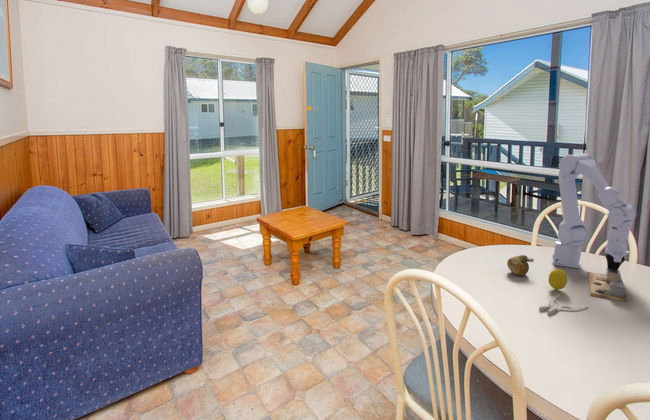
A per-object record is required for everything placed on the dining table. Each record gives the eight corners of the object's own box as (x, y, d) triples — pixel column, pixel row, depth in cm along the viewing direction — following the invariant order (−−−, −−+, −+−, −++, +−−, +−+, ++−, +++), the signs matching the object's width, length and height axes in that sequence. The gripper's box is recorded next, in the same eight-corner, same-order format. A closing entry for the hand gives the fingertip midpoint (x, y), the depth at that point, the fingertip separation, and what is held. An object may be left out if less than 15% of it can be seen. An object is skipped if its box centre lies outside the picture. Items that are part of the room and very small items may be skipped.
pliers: (589, 304, 125) (559, 316, 119) (588, 308, 126) (559, 320, 119) (559, 292, 134) (529, 302, 127) (558, 296, 134) (529, 306, 128)
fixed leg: (598, 292, 133) (600, 283, 132) (597, 288, 136) (599, 279, 135) (623, 297, 129) (625, 287, 129) (621, 292, 133) (623, 283, 132)
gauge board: (590, 295, 134) (591, 290, 134) (587, 274, 151) (587, 269, 150) (626, 301, 129) (627, 296, 129) (619, 279, 146) (620, 274, 145)
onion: (517, 268, 157) (519, 249, 155) (533, 276, 149) (536, 256, 147) (501, 271, 155) (503, 251, 153) (517, 279, 147) (519, 259, 145)
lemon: (559, 295, 134) (562, 273, 132) (543, 288, 139) (546, 267, 137) (568, 291, 137) (572, 269, 135) (553, 285, 142) (556, 264, 140)
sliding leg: (596, 279, 143) (597, 270, 142) (595, 275, 146) (596, 266, 145) (618, 283, 140) (620, 274, 139) (617, 279, 143) (619, 270, 142)
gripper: (635, 246, 133) (628, 283, 136) (628, 234, 145) (622, 269, 149) (609, 243, 137) (603, 279, 140) (605, 232, 149) (599, 265, 152)
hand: (611, 274), depth 144 cm, fingers closed
